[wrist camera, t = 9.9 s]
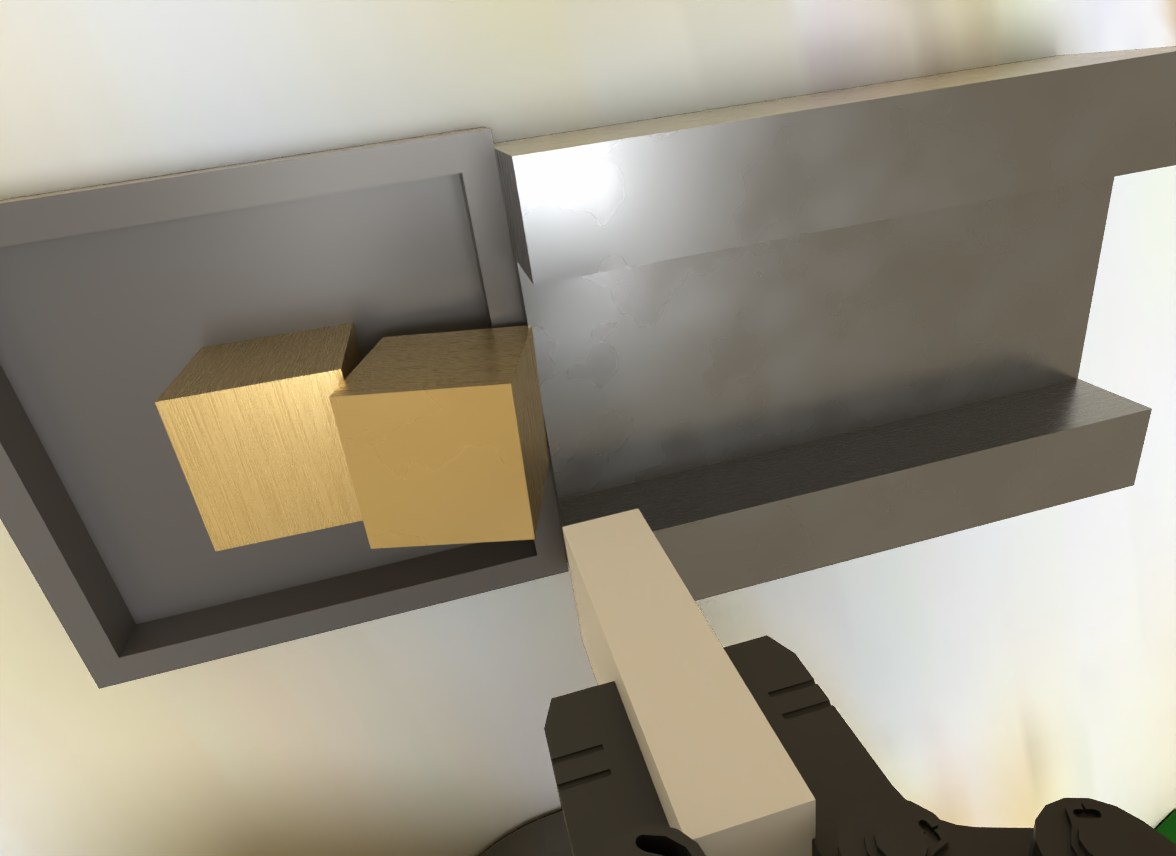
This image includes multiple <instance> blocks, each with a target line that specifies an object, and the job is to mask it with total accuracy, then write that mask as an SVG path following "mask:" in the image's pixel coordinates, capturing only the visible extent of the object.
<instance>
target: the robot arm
mask: <svg viewBox="0 0 1176 856" xmlns="http://www.w3.org/2000/svg"><path fill="white" fill-rule="evenodd" d="M562 528H563V534H564V540H565V545H566V551H567V557H568V562H569V568H570V574H571V579H572V585H573V591H574V596H575V602H576V608H577V613H578V619H579V625H580V630H581V636H582V640H583V643H584V646H585V649H586V652H587V655H588V658H589V661H590V664H591V666H592V669H593V672H594V675H595V678H596V681H597V684H598V686H594V687H591V688H587V689H584V690H580V691H577V692H573V693H570V694H566V695H563V696H559V697H556V698H552V699H551V703H550V707H549V712H548V716H547V720H546V724H545V728H544V729H545V734H546V738H547V743H548V747H549V752H550V757H551V761H552V766H553V770H554V775H555V779H556V784H557V788H558V793H559V797H560V802H561V806H562V810H563V811H560V812H557V813H554V814H551V815H549V816H546V817H543V818H541V819H539V820H536V821H534V822H532V823H530V824H528V825H526V826H524V827H522V828H520V829H518V830H516V831H514V832H513V833H511V834H509V835H507V836H506V837H504V838H503V839H501V840H500V841H498V842H497V843H495V844H494V845H493V846H491V847H490V848H489V849H487V850H486V851H485V852H484V853H482V854H481V855H480V856H1176V844H1174V843H1173V842H1172V841H1170V840H1169V839H1167V838H1166V837H1165V836H1163V835H1162V834H1160V833H1159V832H1157V831H1156V830H1155V829H1153V828H1152V827H1150V826H1149V825H1148V824H1146V823H1145V822H1143V821H1142V820H1140V819H1138V818H1136V817H1134V816H1133V815H1131V814H1129V813H1127V812H1125V811H1124V810H1122V809H1120V808H1118V807H1117V806H1113V805H1110V804H1107V803H1103V802H1100V801H1096V800H1093V799H1090V798H1063V799H1060V800H1058V801H1055V802H1053V803H1050V804H1048V805H1046V806H1045V807H1044V808H1043V810H1042V811H1041V813H1040V814H1039V816H1038V817H1037V818H1036V820H1035V825H1034V828H988V827H970V826H961V825H955V824H952V823H949V822H946V821H942V820H940V819H939V818H938V817H937V816H936V815H935V814H934V813H932V812H930V811H928V810H926V809H924V808H922V807H921V806H919V805H917V804H915V803H913V802H911V801H907V800H906V799H905V798H903V797H902V795H901V794H900V793H899V792H898V791H897V790H896V789H895V788H894V787H893V786H892V784H891V783H890V782H889V780H888V779H887V778H886V776H885V775H884V774H883V772H882V771H881V769H880V768H879V767H878V765H877V764H876V763H875V761H874V760H873V759H872V757H871V756H870V755H869V753H868V752H867V751H866V749H865V748H864V746H863V745H862V744H861V742H860V741H859V740H858V738H857V737H856V736H855V734H854V733H853V732H852V730H851V729H850V727H849V726H848V725H847V723H846V722H845V721H844V719H843V718H842V717H841V715H840V714H839V713H838V711H837V710H836V708H835V707H834V706H831V704H830V702H829V699H828V698H827V696H826V695H825V694H824V692H823V691H822V690H821V688H820V687H819V685H818V684H815V682H814V679H813V677H812V676H811V675H810V673H809V672H808V671H807V669H806V668H805V666H804V665H803V664H802V662H801V661H800V660H799V658H798V657H797V656H796V654H795V653H793V652H792V651H790V650H789V649H787V648H786V647H784V646H782V645H781V644H779V643H778V642H776V641H775V640H773V639H772V638H770V637H769V636H763V637H760V638H756V639H753V640H749V641H746V642H742V643H739V644H735V645H732V646H728V647H725V648H723V647H722V645H721V643H720V642H719V640H718V639H717V637H716V635H715V634H714V632H713V630H712V629H711V627H710V625H709V624H708V622H707V621H706V619H705V617H704V616H703V614H702V612H701V611H700V609H699V607H698V606H697V604H696V602H695V601H694V599H693V598H692V596H691V594H690V593H689V591H688V589H687V588H686V586H685V584H684V583H683V581H682V579H681V578H680V576H679V575H678V573H677V571H676V570H675V568H674V566H673V565H672V563H671V561H670V560H669V558H668V556H667V555H666V553H665V552H664V550H663V548H662V547H661V545H660V543H659V542H658V540H657V538H656V537H655V535H654V533H653V532H652V530H651V529H650V527H649V525H648V524H647V522H646V520H645V519H644V517H643V515H642V514H641V512H640V511H639V509H638V508H637V509H633V510H629V511H625V512H621V513H617V514H613V515H609V516H605V517H601V518H597V519H593V520H589V521H584V522H580V523H576V524H572V525H568V526H564V527H562Z"/></svg>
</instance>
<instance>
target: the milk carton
mask: <svg viewBox="0 0 1176 856" xmlns="http://www.w3.org/2000/svg"><path fill="white" fill-rule="evenodd" d="M1155 830H1156V831H1157V832H1159V833H1160V834H1162V835H1163V836H1165V837H1166V838H1167V839H1169V840H1170V841H1172V842H1173V843H1174V844H1176V810H1174V812H1173V813H1172V814H1171V815H1170V816H1169V817H1168V818H1167V819H1166V820H1165V821H1164V822H1163V823H1161V824H1160V825H1159V826H1158V827H1157V828H1156V829H1155Z"/></svg>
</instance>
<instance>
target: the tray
mask: <svg viewBox="0 0 1176 856" xmlns="http://www.w3.org/2000/svg"><path fill="white" fill-rule="evenodd" d="M351 322H353V325H354V329H355V333H356V337H357V341H358V344H359V348H360V352H361V356H362V360H363V359H364V358H365V357H366V356H367V354H368V353H369V352H370V351H371V350H372V349H373V348H374V347H375V346H376V345H377V343H378V342H379V341H380V340H381V339H382V338H383V337H390V336H402V335H415V334H427V333H440V332H452V331H464V330H477V329H489V328H501V327H514V326H525V320H524V314H523V309H522V303H521V297H520V292H519V286H518V280H517V274H516V269H515V263H514V257H513V252H512V246H511V240H510V235H509V229H508V223H507V217H506V212H505V206H504V200H503V195H502V189H501V183H500V178H499V172H498V166H497V160H496V155H495V149H494V143H493V138H492V132H491V129H490V128H486V127H479V128H472V129H466V130H459V131H453V132H446V133H439V134H433V135H426V136H420V137H413V138H406V139H400V140H393V141H387V142H380V143H373V144H367V145H360V146H354V147H347V148H340V149H334V150H327V151H321V152H314V153H308V154H301V155H294V156H288V157H281V158H275V159H268V160H261V161H255V162H248V163H242V164H235V165H228V166H222V167H215V168H209V169H202V170H195V171H189V172H182V173H176V174H169V175H162V176H156V177H149V178H143V179H136V180H129V181H123V182H116V183H110V184H103V185H96V186H90V187H83V188H77V189H70V190H64V191H57V192H50V193H44V194H37V195H31V196H24V197H17V198H11V199H4V200H0V519H1V520H2V522H3V524H4V525H5V527H6V529H7V531H8V532H9V534H10V536H11V538H12V539H13V541H14V543H15V544H16V546H17V548H18V550H19V551H20V553H21V555H22V556H23V558H24V560H25V562H26V563H27V565H28V567H29V569H30V570H31V572H32V574H33V575H34V577H35V579H36V581H37V582H38V584H39V586H40V587H41V589H42V591H43V593H44V594H45V596H46V598H47V600H48V601H49V603H50V605H51V606H52V608H53V610H54V612H55V613H56V615H57V617H58V618H59V620H60V622H61V624H62V625H63V627H64V629H65V631H66V632H67V634H68V636H69V637H70V639H71V641H72V643H73V644H74V646H75V648H76V650H77V651H78V653H79V655H80V656H81V658H82V660H83V662H84V663H85V665H86V667H87V668H88V670H89V672H90V674H91V675H92V677H93V679H94V681H95V682H96V684H97V686H98V687H99V689H100V688H104V687H108V686H112V685H116V684H120V683H124V682H128V681H132V680H136V679H140V678H144V677H148V676H152V675H156V674H160V673H164V672H168V671H172V670H176V669H180V668H184V667H188V666H192V665H196V664H200V663H204V662H208V661H212V660H216V659H220V658H224V657H228V656H232V655H236V654H239V653H243V652H247V651H251V650H255V649H259V648H263V647H267V646H271V645H275V644H279V643H283V642H287V641H291V640H295V639H299V638H303V637H307V636H311V635H315V634H319V633H323V632H327V631H331V630H335V629H339V628H343V627H347V626H351V625H355V624H359V623H363V622H367V621H371V620H375V619H379V618H383V617H387V616H391V615H395V614H399V613H403V612H407V611H411V610H415V609H419V608H423V607H427V606H431V605H435V604H439V603H443V602H447V601H451V600H455V599H459V598H463V597H467V596H471V595H475V594H479V593H483V592H487V591H491V590H495V589H499V588H503V587H507V586H511V585H515V584H519V583H523V582H527V581H531V580H535V579H539V578H543V577H547V576H551V575H555V574H559V573H563V572H567V571H568V565H567V559H566V554H565V548H564V542H563V537H562V531H561V525H560V519H559V514H558V508H557V502H556V497H555V491H554V485H553V480H552V474H551V468H550V462H549V464H548V469H547V475H546V480H545V486H544V491H543V497H542V503H541V508H540V514H539V519H538V525H537V530H536V536H535V539H532V540H514V541H497V542H480V543H463V544H445V545H428V546H411V547H393V548H376V549H371V547H370V544H369V540H368V537H367V533H366V529H365V526H364V522H363V521H358V522H353V523H348V524H344V525H339V526H334V527H329V528H325V529H320V530H315V531H310V532H306V533H301V534H296V535H291V536H287V537H282V538H277V539H272V540H268V541H263V542H258V543H253V544H249V545H244V546H239V547H234V548H230V549H225V550H220V551H215V549H214V546H213V544H212V541H211V539H210V536H209V534H208V532H207V529H206V527H205V524H204V522H203V519H202V517H201V514H200V512H199V509H198V507H197V505H196V502H195V500H194V497H193V495H192V492H191V490H190V487H189V485H188V482H187V480H186V478H185V475H184V473H183V470H182V468H181V465H180V463H179V460H178V458H177V455H176V453H175V450H174V448H173V446H172V443H171V441H170V438H169V436H168V433H167V431H166V428H165V426H164V423H163V421H162V419H161V416H160V414H159V411H158V409H157V406H156V404H155V401H156V400H157V399H158V398H159V397H160V396H161V394H162V393H163V392H164V391H165V390H166V389H167V387H168V386H169V385H170V384H171V383H172V381H173V380H174V379H175V378H176V377H177V376H178V374H179V373H180V372H181V371H182V370H183V369H184V367H185V366H186V365H187V364H188V363H189V361H190V360H191V359H192V358H193V357H194V356H195V354H196V353H197V352H198V351H199V350H200V349H201V348H202V347H208V346H214V345H220V344H226V343H231V342H237V341H243V340H249V339H255V338H261V337H267V336H273V335H279V334H285V333H291V332H297V331H303V330H309V329H315V328H321V327H327V326H333V325H339V324H345V323H351Z"/></svg>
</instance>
